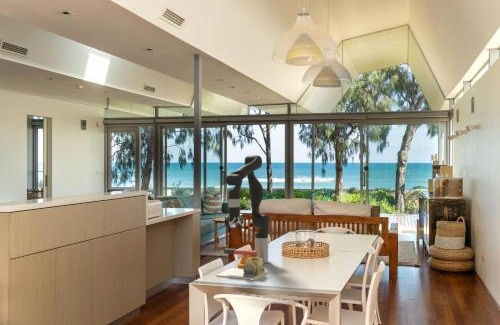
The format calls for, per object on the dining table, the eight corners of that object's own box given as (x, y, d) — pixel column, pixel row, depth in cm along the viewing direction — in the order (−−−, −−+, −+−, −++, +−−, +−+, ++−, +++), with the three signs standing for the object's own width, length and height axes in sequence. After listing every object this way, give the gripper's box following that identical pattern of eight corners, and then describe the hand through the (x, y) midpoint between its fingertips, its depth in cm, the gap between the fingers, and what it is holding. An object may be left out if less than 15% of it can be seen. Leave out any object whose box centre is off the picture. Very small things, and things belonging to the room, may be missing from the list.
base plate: (231, 269, 327) (231, 268, 327) (268, 272, 317) (268, 271, 317) (216, 276, 307) (216, 275, 307) (256, 280, 297) (256, 278, 297)
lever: (258, 255, 312) (258, 250, 312) (256, 256, 308) (256, 251, 308) (226, 252, 320) (226, 248, 320) (223, 253, 316) (223, 249, 316)
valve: (254, 269, 322) (254, 252, 322) (266, 270, 319) (266, 253, 319) (241, 277, 302) (241, 258, 302) (253, 278, 299) (253, 259, 299)
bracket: (237, 268, 329) (237, 250, 329) (240, 266, 336) (240, 248, 336) (252, 270, 326) (252, 251, 326) (256, 267, 333) (256, 249, 332)
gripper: (238, 204, 324) (238, 229, 324) (221, 206, 314) (222, 232, 314) (246, 205, 319) (246, 231, 319) (230, 207, 309) (230, 233, 309)
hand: (234, 231), depth 317 cm, fingers open, 8 cm apart
